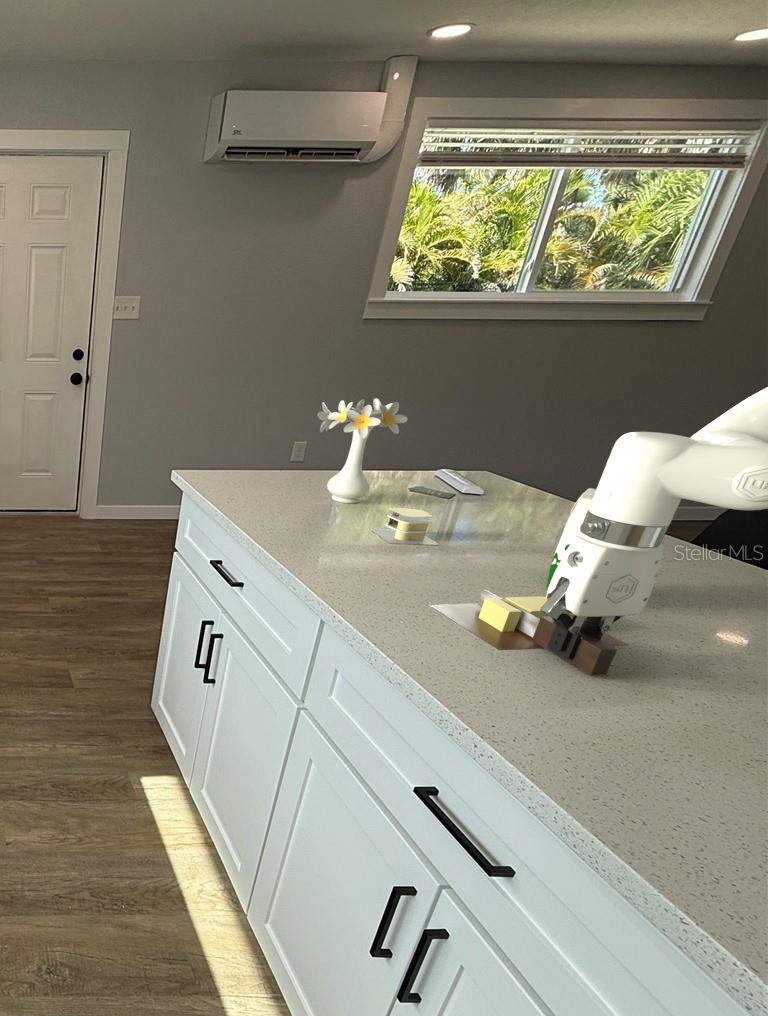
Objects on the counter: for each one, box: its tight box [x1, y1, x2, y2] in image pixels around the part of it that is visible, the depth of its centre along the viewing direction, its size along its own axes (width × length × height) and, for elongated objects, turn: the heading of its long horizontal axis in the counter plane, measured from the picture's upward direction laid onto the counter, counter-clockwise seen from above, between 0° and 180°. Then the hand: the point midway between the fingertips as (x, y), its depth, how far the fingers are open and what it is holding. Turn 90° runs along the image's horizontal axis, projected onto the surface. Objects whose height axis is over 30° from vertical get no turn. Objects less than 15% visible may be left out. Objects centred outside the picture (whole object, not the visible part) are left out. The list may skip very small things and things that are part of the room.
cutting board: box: [428, 602, 629, 651], centre depth 98 cm, size 20×14×2 cm
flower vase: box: [317, 397, 409, 504], centre depth 154 cm, size 13×18×25 cm
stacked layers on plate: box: [369, 507, 441, 546], centre depth 135 cm, size 10×9×6 cm
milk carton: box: [545, 487, 597, 589], centre depth 106 cm, size 9×9×20 cm
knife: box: [477, 588, 618, 676], centre depth 93 cm, size 20×2×4 cm, turn 3°
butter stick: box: [504, 595, 574, 619], centre depth 98 cm, size 8×4×4 cm, turn 93°
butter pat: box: [479, 598, 522, 632], centre depth 97 cm, size 2×4×4 cm, turn 4°
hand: (569, 652), depth 88 cm, fingers closed on knife, 2 cm apart
